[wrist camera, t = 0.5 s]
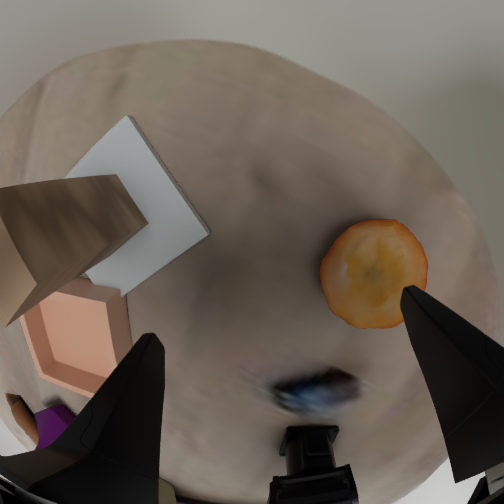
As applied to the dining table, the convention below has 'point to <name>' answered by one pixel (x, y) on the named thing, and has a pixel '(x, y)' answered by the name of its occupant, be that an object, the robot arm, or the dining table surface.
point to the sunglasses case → (23, 417)
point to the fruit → (372, 272)
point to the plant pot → (166, 493)
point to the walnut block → (59, 235)
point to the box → (78, 335)
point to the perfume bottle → (52, 424)
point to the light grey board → (141, 207)
